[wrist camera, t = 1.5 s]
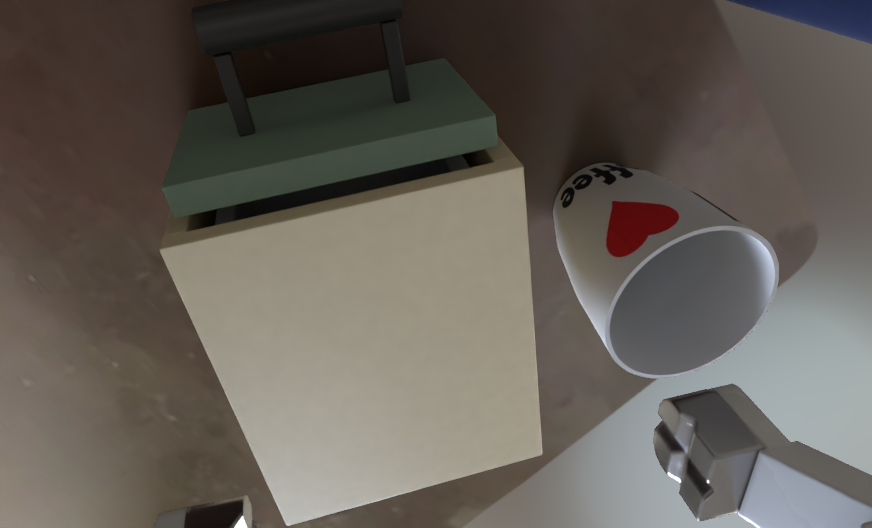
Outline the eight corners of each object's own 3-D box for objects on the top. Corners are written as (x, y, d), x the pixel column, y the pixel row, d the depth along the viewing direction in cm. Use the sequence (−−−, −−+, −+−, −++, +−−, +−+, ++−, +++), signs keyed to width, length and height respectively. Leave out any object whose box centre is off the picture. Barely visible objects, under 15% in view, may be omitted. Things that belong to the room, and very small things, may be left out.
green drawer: (145, -3, 24) (99, 46, 18) (430, -56, 26) (483, -28, 19) (280, 357, 35) (282, 469, 29) (477, 308, 36) (521, 404, 30)
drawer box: (189, 141, 29) (158, 249, 21) (456, 85, 30) (524, 165, 22) (283, 385, 37) (286, 526, 29) (486, 333, 39) (542, 455, 31)
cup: (671, 127, 34) (800, 212, 26) (651, 253, 38) (755, 361, 30) (528, 147, 33) (616, 242, 24) (524, 275, 37) (597, 393, 29)
